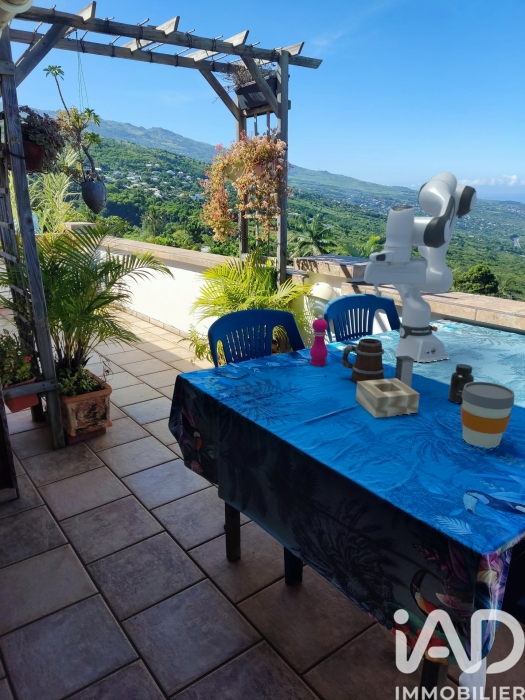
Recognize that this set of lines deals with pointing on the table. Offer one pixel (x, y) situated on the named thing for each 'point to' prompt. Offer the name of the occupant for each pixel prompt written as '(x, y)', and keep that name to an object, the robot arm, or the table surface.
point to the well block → (387, 397)
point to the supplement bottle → (460, 382)
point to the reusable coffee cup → (485, 413)
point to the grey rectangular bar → (404, 369)
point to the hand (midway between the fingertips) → (392, 297)
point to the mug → (365, 360)
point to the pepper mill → (319, 342)
